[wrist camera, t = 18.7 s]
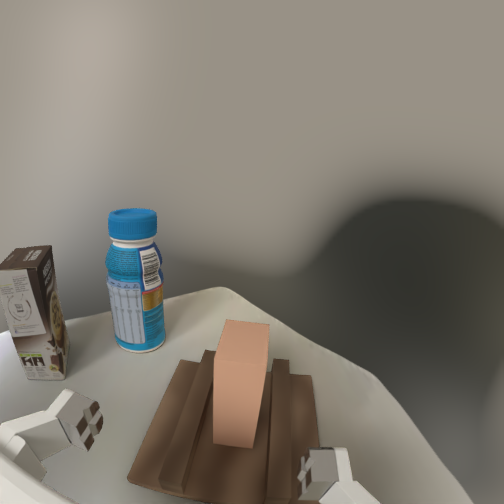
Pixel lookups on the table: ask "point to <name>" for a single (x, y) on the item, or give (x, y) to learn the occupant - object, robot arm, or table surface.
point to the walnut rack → (222, 456)
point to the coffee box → (35, 312)
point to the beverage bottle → (135, 280)
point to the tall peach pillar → (239, 382)
